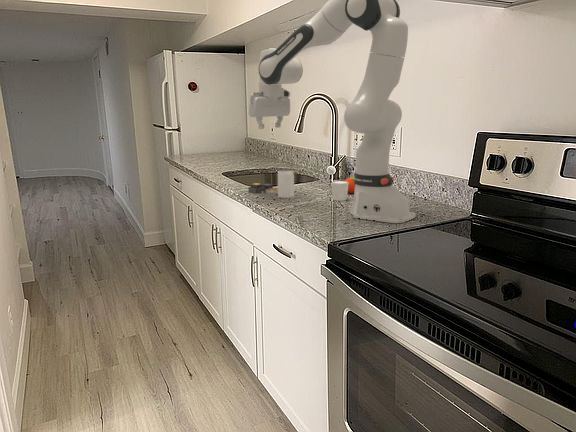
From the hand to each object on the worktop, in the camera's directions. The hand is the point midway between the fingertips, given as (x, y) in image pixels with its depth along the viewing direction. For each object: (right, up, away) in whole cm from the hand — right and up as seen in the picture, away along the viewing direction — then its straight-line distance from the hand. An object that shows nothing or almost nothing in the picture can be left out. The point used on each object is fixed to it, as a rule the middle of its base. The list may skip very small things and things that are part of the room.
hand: (269, 128), depth 182 cm
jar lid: (+2, -25, +10) cm, 27 cm away
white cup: (+28, -29, +1) cm, 40 cm away
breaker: (-6, -24, +11) cm, 27 cm away
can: (+7, -28, +3) cm, 29 cm away
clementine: (+35, -26, +12) cm, 45 cm away
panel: (-1, -26, +11) cm, 28 cm away
